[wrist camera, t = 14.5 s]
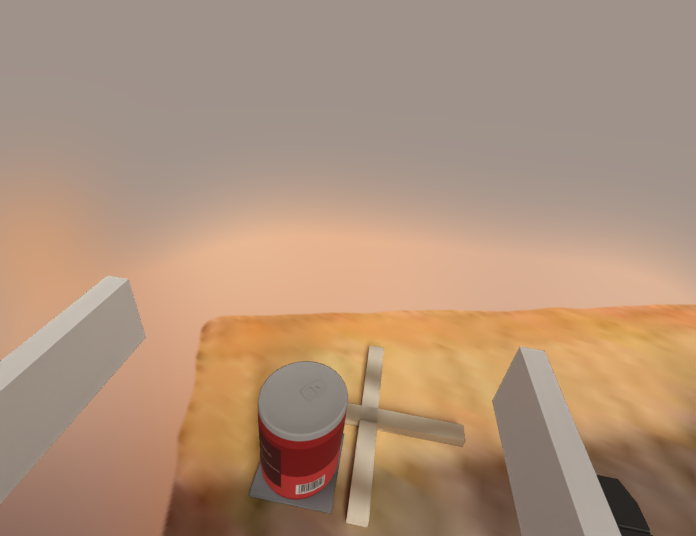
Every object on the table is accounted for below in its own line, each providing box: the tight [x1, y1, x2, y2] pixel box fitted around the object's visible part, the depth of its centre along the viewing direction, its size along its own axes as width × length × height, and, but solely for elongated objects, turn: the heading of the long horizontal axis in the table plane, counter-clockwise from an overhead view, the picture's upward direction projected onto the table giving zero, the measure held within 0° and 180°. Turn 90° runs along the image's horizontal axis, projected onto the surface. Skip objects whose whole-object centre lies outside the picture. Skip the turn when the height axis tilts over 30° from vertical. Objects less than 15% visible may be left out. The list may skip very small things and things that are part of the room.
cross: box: [249, 345, 465, 527], centre depth 43 cm, size 22×22×1 cm
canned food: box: [258, 361, 348, 500], centre depth 35 cm, size 8×8×11 cm
